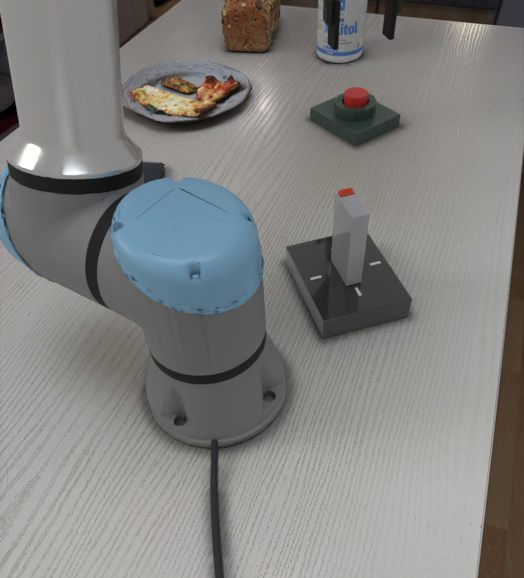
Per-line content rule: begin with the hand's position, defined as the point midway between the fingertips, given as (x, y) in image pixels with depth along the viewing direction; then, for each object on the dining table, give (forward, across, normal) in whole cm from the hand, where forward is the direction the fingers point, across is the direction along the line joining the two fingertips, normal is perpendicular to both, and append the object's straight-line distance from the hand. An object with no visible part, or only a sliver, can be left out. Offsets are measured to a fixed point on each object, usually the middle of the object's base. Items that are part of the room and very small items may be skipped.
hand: (360, 41), depth 85 cm
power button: (+10, 0, 0) cm, 10 cm away
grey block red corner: (+10, -17, -38) cm, 43 cm away
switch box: (+13, 0, 0) cm, 13 cm away
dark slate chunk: (+14, -46, -3) cm, 48 cm away
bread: (+14, -6, +44) cm, 46 cm away
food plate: (+14, -26, +20) cm, 35 cm away
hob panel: (+13, -17, -38) cm, 44 cm away
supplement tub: (+14, +8, +27) cm, 31 cm away
